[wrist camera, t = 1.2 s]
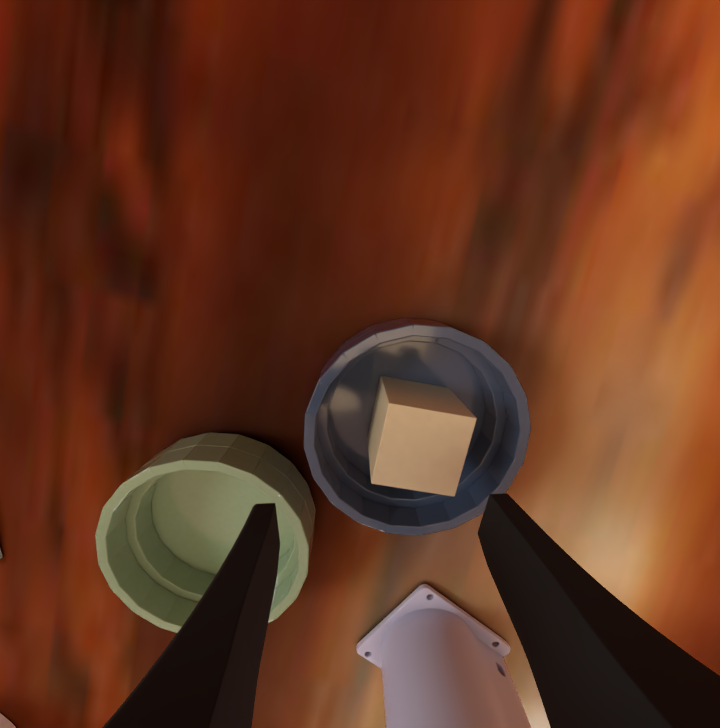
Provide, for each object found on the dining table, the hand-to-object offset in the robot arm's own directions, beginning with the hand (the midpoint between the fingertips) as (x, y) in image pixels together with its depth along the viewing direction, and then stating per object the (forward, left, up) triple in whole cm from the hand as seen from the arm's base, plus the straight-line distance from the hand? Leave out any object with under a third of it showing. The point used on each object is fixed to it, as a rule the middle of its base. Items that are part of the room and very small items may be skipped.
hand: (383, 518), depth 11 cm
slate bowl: (-2, -1, -11) cm, 11 cm away
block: (-2, -1, -10) cm, 11 cm away
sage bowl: (+2, +12, -11) cm, 16 cm away
